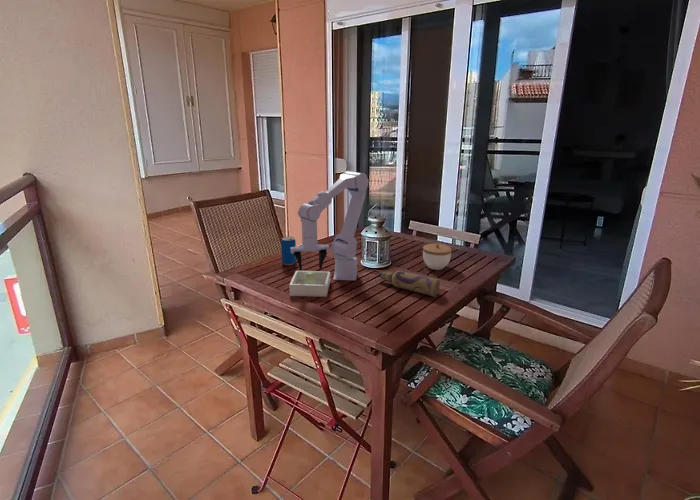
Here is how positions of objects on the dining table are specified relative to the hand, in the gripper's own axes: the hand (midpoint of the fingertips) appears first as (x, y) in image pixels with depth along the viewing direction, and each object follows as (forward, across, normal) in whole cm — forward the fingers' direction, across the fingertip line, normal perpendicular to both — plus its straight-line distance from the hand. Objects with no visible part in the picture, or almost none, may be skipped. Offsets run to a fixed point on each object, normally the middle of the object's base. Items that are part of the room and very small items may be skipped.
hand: (310, 269), depth 154 cm
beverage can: (+9, +5, -30) cm, 32 cm away
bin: (+8, 0, 0) cm, 8 cm away
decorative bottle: (+9, -38, +8) cm, 40 cm away
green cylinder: (+8, 0, 0) cm, 8 cm away
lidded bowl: (+9, -59, -11) cm, 60 cm away
